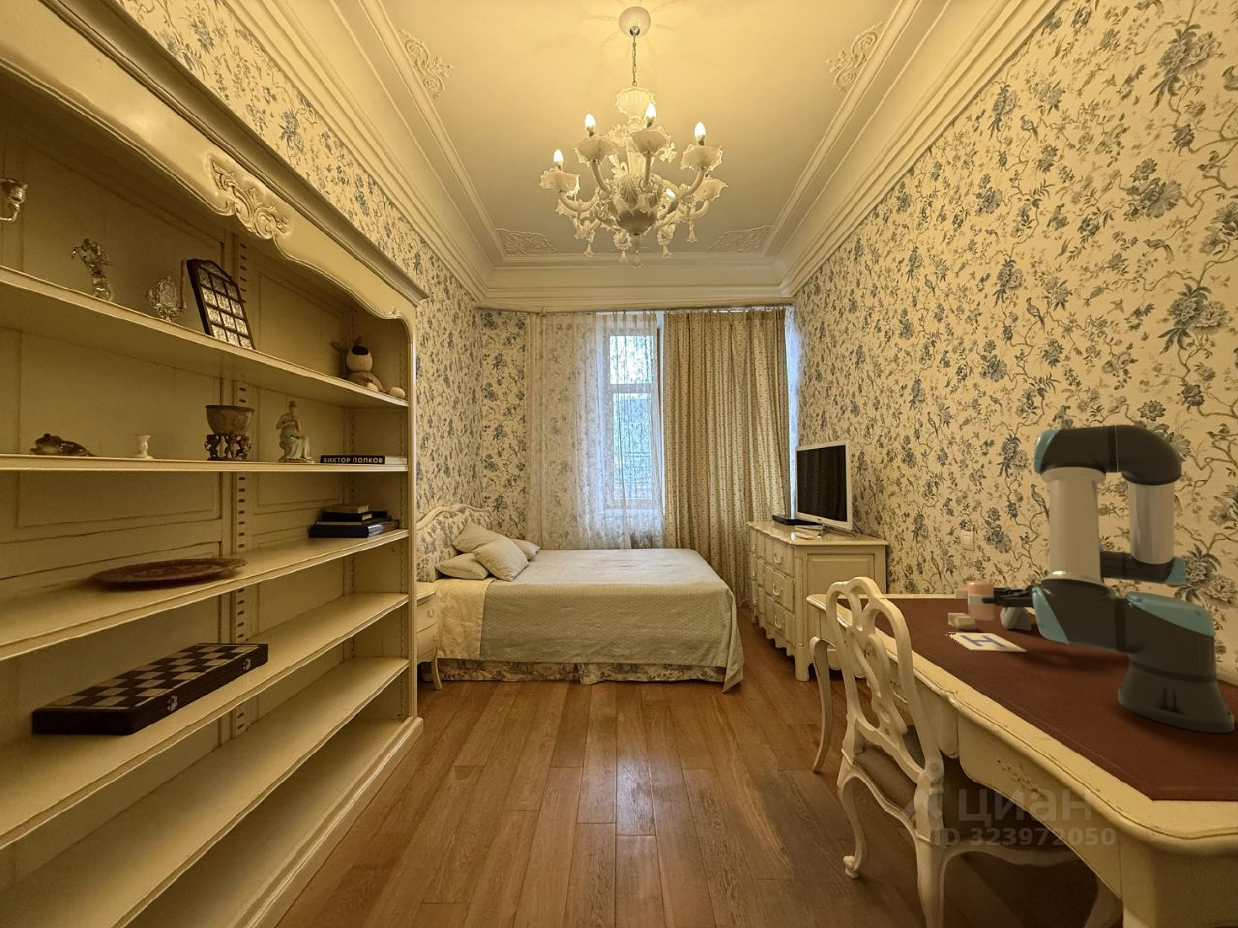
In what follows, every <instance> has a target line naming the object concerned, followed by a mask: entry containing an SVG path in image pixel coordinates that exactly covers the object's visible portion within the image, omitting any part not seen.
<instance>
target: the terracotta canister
mask: <svg viewBox="0 0 1238 928" xmlns="http://www.w3.org/2000/svg"><path fill="white" fill-rule="evenodd" d="M966 582H967V589H968V595H994V591H993V587H994V584H993V583H991V582H988V581H983V580H982V581H981V580H968V581H966ZM967 604H968V603H967ZM967 606H968V615H969V617H971V618H974V619H975V620H979V621H986V622H987V621H994V620H995V619H996V618H995V617H996V614H995V604H994V605H969V604H968V605H967Z"/></svg>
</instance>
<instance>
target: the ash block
mask: <svg viewBox="0 0 1238 928" xmlns="http://www.w3.org/2000/svg"><path fill="white" fill-rule="evenodd" d="M947 618H948V619H947V621H948V623H947V624H948V625H949V624H950V625H952V626H954V627H956V628H958V629H975V630H976V619H974V618H971V617H969V614H967V613H965V612H959V613H958V612H948V613H947Z"/></svg>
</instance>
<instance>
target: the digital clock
mask: <svg viewBox="0 0 1238 928" xmlns="http://www.w3.org/2000/svg"><path fill="white" fill-rule="evenodd" d="M1012 589H1018V588H1016V587H1015V588H1012ZM999 614H1000V616H999V617H1000V621H1001V624H1002V627H1003V628H1005V629H1006V630H1013V629H1018V630H1025V631H1032V620H1031V619H1032V618H1031V616H1030V613H1029V611H1028V609H1027V607H1023V608H1004V607H1002V609H1001V612H1000V613H999Z"/></svg>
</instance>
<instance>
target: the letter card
mask: <svg viewBox="0 0 1238 928" xmlns="http://www.w3.org/2000/svg"><path fill="white" fill-rule="evenodd" d="M955 633H956V634H955V635H954V634H953V635H952V634H951V635H949V636H950V637H951V638H950V637H949V638H950V639H952V638H953V639H954V640H953V639H952V640H953V641H955V640H956V641H957V642H956V641H955V642H956V643H958V642H959V643H958V644H959V645H961V644H962V645H961V646H962V647H965V648H967V649H968V650H970V651H981V652H982V651H983V652H987V651H990V652H991V651H992V652H1025V653H1026V652H1027V650H1026V649H1024V648H1022V647H1020V646H1019V645H1015V644H1014V643H1012V642H1010V641H1008V640H1006V639H1005V638H1002V637H1000V636H999V635H996V634H994V633H990V632H989V633H987V632H986V633H985V632H983V633H982V632H980V633H979V632H955ZM945 636H947V634H946V635H945Z"/></svg>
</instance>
